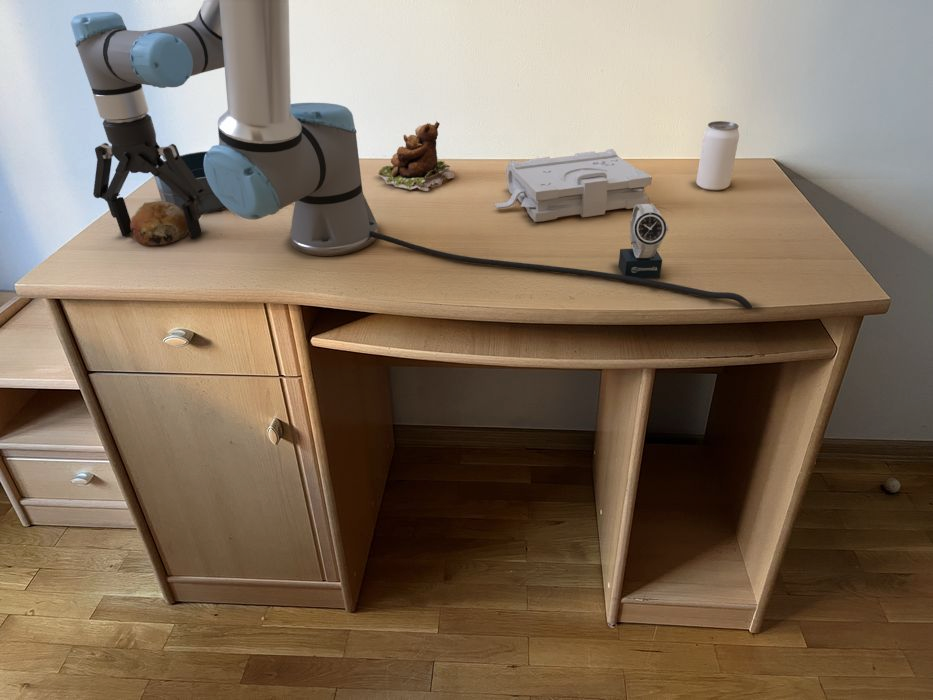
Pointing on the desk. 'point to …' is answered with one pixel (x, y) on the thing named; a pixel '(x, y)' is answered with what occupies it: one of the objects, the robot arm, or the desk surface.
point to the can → (717, 155)
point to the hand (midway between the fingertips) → (162, 234)
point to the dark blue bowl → (197, 168)
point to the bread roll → (158, 223)
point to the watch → (644, 243)
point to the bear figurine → (417, 162)
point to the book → (575, 185)
